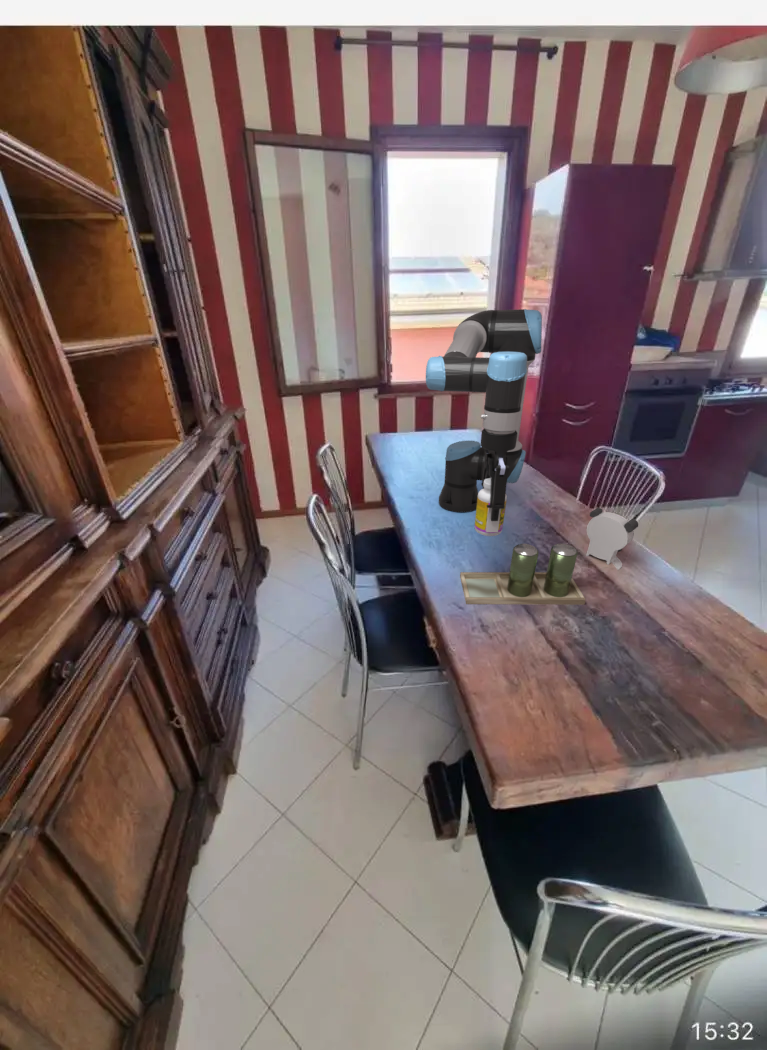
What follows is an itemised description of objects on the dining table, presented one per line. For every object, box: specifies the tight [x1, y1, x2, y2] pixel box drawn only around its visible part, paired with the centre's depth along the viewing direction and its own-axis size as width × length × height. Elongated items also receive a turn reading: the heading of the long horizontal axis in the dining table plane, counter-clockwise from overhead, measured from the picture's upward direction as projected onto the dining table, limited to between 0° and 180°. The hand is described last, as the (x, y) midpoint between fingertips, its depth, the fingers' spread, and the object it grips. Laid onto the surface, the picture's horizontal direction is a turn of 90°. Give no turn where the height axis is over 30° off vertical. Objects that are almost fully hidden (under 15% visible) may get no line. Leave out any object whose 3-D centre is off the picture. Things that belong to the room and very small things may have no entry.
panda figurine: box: [585, 507, 639, 571], centre depth 118 cm, size 12×11×15 cm
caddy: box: [459, 571, 587, 606], centre depth 108 cm, size 12×29×2 cm, turn 88°
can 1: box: [507, 543, 540, 597], centre depth 105 cm, size 6×6×12 cm
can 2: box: [544, 543, 579, 597], centre depth 105 cm, size 6×6×12 cm
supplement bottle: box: [474, 478, 508, 537], centre depth 99 cm, size 7×7×13 cm
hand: (488, 524), depth 101 cm, fingers closed on supplement bottle, 7 cm apart
